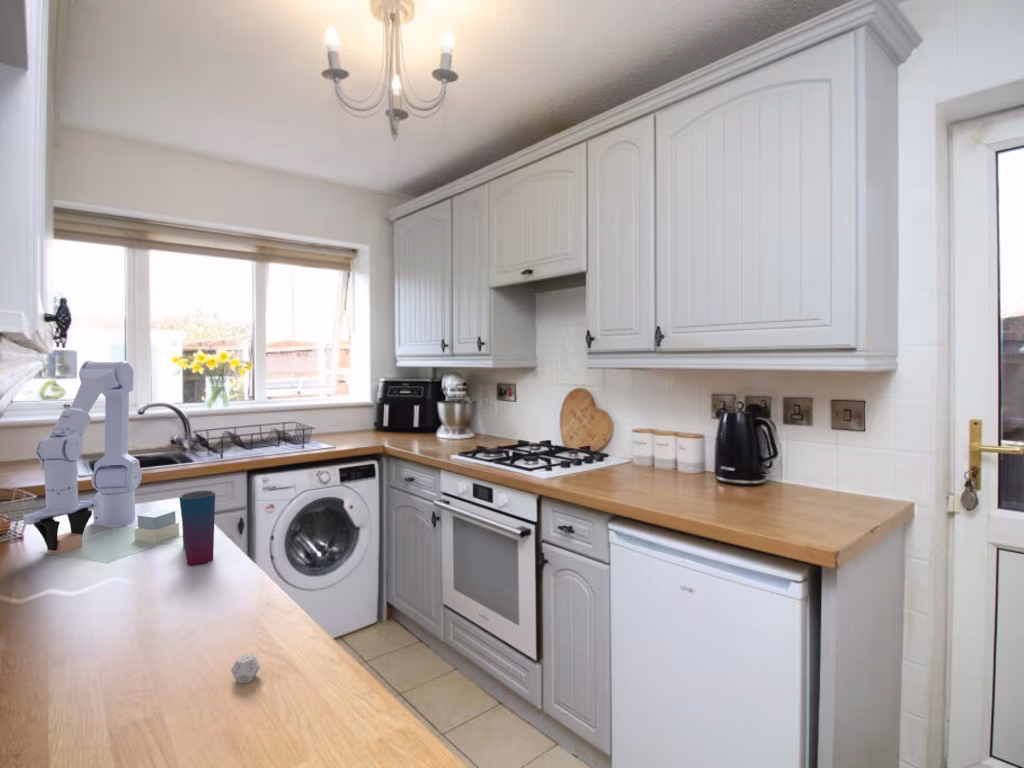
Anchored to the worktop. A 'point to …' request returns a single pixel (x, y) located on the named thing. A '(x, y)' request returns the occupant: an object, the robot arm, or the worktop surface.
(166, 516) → the brick
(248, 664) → the game die
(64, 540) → the brick
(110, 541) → the baseplate
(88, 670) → the worktop surface
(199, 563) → the cup
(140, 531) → the brick
